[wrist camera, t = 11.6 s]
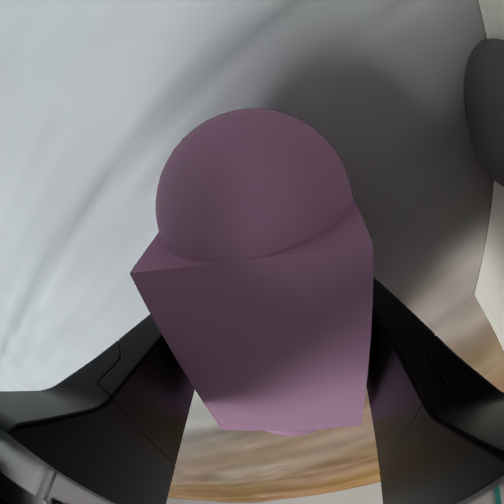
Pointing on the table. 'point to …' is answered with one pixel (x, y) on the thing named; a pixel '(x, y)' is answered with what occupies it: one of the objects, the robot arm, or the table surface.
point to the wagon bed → (490, 151)
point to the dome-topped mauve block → (262, 274)
